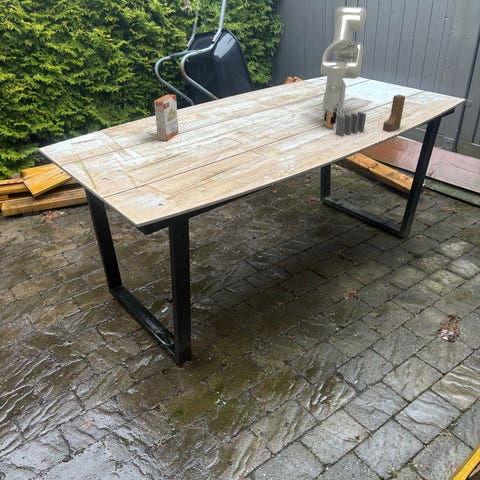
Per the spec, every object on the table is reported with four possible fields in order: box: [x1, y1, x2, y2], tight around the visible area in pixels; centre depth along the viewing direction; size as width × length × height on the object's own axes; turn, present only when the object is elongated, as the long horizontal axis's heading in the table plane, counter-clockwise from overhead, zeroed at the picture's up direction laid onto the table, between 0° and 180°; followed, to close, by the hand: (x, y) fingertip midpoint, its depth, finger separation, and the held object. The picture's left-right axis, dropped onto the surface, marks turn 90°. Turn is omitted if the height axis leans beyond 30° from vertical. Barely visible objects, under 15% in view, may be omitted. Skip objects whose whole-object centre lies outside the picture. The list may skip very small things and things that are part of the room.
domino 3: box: [344, 113, 353, 136], centre depth 245 cm, size 5×2×10 cm, turn 26°
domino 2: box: [335, 115, 346, 137], centre depth 243 cm, size 5×2×10 cm, turn 26°
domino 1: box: [325, 111, 335, 129], centre depth 254 cm, size 5×2×10 cm, turn 26°
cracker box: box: [153, 94, 179, 142], centre depth 241 cm, size 14×6×21 cm, turn 160°
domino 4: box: [350, 112, 359, 134], centre depth 246 cm, size 5×2×10 cm, turn 26°
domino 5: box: [357, 111, 367, 133], centre depth 248 cm, size 5×2×10 cm, turn 26°
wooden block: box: [382, 94, 406, 133], centre depth 247 cm, size 9×4×18 cm, turn 123°
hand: (329, 121), depth 255 cm, fingers open, 5 cm apart
